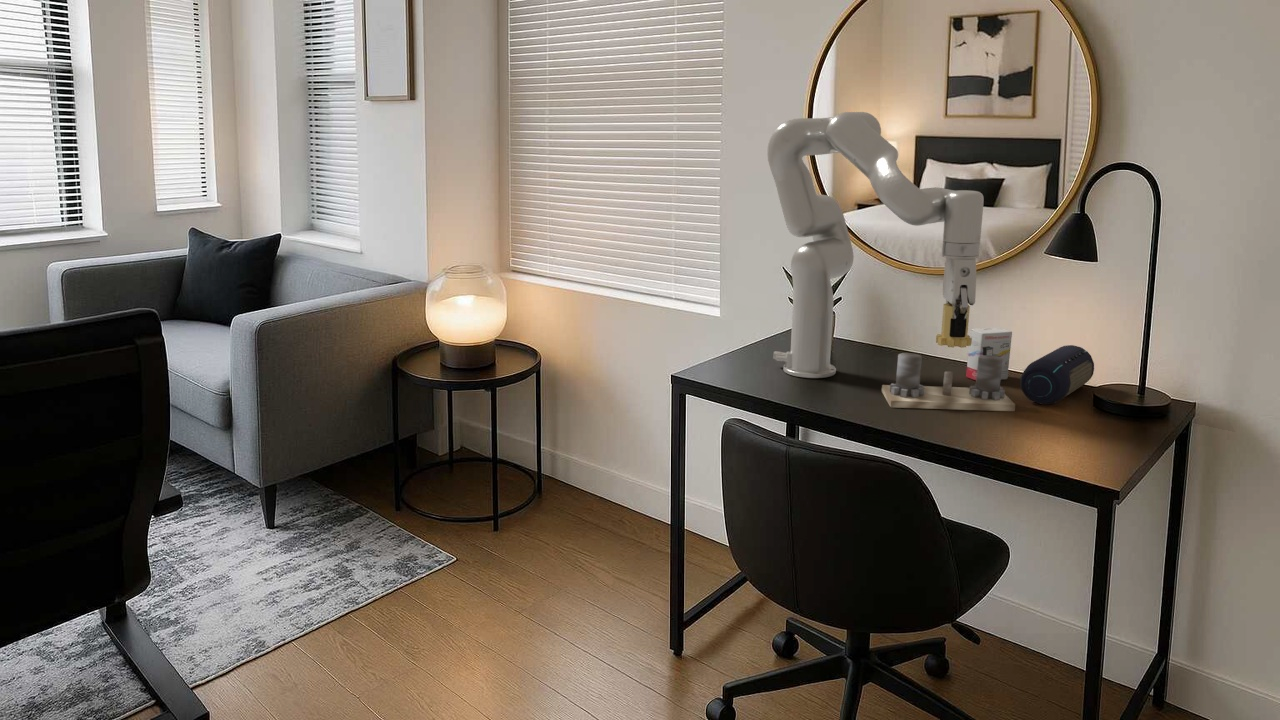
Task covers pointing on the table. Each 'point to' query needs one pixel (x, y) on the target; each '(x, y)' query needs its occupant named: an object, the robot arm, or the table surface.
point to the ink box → (989, 348)
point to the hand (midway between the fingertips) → (954, 333)
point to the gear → (945, 337)
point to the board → (947, 401)
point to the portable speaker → (1057, 374)
